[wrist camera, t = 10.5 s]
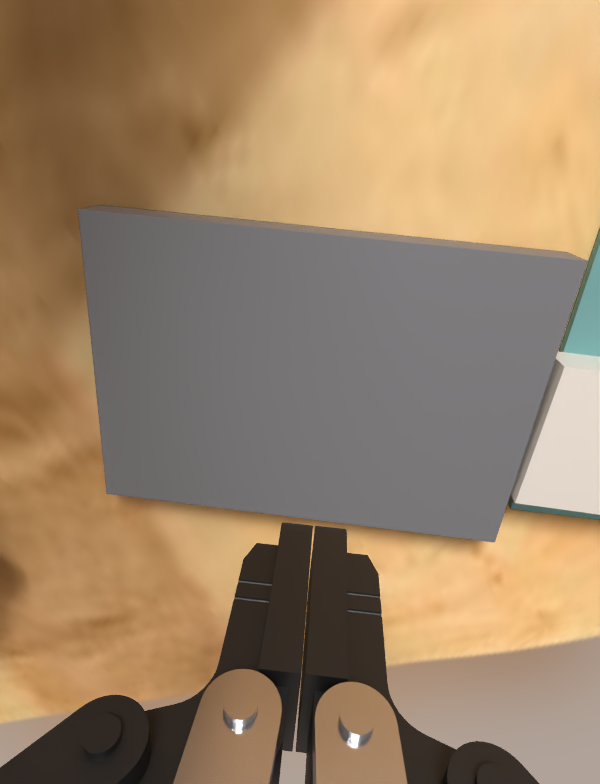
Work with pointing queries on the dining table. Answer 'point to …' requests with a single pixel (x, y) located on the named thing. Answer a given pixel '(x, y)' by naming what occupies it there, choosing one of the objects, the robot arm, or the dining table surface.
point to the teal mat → (580, 346)
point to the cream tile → (565, 440)
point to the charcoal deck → (319, 367)
